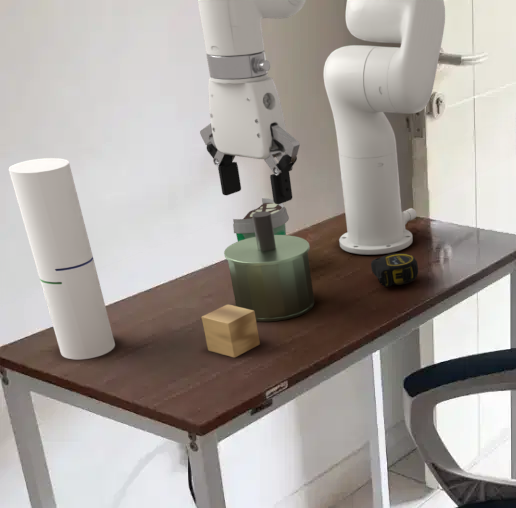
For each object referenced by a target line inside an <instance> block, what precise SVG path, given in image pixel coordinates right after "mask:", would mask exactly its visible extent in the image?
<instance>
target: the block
mask: <svg viewBox="0 0 516 508" xmlns="http://www.w3.org/2000/svg"><path fill="white" fill-rule="evenodd" d="M201 322H202V327H203V332H204V337H205V342H206V347H207V351H209V352H213V353H216V354H220V355H223V356H228V357H230V358H235V359H236V358H237V357H239V356H241V355H242V354H244V353H246V352H249V351H250V350H252V349H254V348H256V347H258V346H259V345H261V343H260V336H259V331H258V325H257V321H256V318H255V312H254V310H249V309H245V308H241V307H237V306H236V305H232V304H228V303H227V304H225V305H223V306H221V307H219V308H217V309H214V310H212V311H210V312H208V313H206V314H204V315H202V316H201Z"/></svg>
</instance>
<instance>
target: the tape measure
mask: <svg viewBox="0 0 516 508" xmlns="http://www.w3.org/2000/svg"><path fill="white" fill-rule="evenodd" d="M370 269H371V271H372V273H373V275H374V276H375V277H376V278H377V279H378V281H379V284H381V285H382V286H383V287H384V288H388V287H392V286H401V285H403V286H404V285H406V284H410V283H412V282H413V281H415V280H416V279H417V277H418V274H419V265H418V261H417V259H416V258H415V257H414V256H413V255H412V254H409V253H403V252H399V253H398V252H397V253H396V252H393V253H388V254H385V255H383V256H380V257H377V258H375V259H372V260H371V263H370Z"/></svg>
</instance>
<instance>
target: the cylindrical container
mask: <svg viewBox="0 0 516 508" xmlns="http://www.w3.org/2000/svg"><path fill="white" fill-rule="evenodd" d="M8 174H9V177H10V180H11V183H12V187H13V190H14V194H15V197H16V202H17V205H18V207H19V211H20V215H21V218H22V223H23V225H24V229H25V233H26V236H27V240H28V243H29V247H30V250H31V254H32V257H33V261H34V263H35V268H36V271H37V275H38V278H39V282H40V285H41V288H42V292H43V295H44V296H43V297H44V300H45V303H46V306H47V308H48V313H49V317H50V321H51V323H52V328H53V330H54V334H55V339H56V341H57V345H58V349H59V352H60V355H61V357H63V358H65V359H69V360H88V359H94V358H98V357H101V356H104V355H106V354H108V353H110V352H112V350H114V349H115V347H116V343H115V339H114V334H113V332H112V326H111V323H110V319H109V314H108V311H107V307H106V304H105V299H104V296H103V295H104V294H103V292H102V288H101V287H102V286H101V283H100V280H99V276H98V271H97V268H96V264H95V260H94V256H93V252H92V247H91V244H90V240H89V236H88V232H87V227H86V224H85V220H84V217H83V212H82V209H81V203H80V201H79V197H78V192H77V188H76V184H75V180H74V176H73V173H72V168H71V164H70V161H69V160H68V159H66V158H61V157H45V158H34V159H28V160H24V161H20V162H17V163H15V164H12V165H10V166H9V167H8Z"/></svg>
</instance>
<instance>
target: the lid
mask: <svg viewBox="0 0 516 508" xmlns="http://www.w3.org/2000/svg"><path fill="white" fill-rule="evenodd" d="M252 216H253V223H254V229H255V235H256V237H252V238H248V239H244V240H241V241H238V240H237V241H236V242H233V243H232V244H230V245H228V246H227V247H226V248H225V249H224V252H223V254H224V259H225V260H226V261H227V262H228V261H229V262H231V263H234V264H238V265H245V266H268V265H276V264H281V263H286V262H290V261H293V260H296V259H298V258H300V257H302V256H304V255H305V254H306V253H308V254H309V251H310V249H311V248H310V243H309V241H307V240H306V239H305V238H303V237H299V236H295V235H289V234H288V235H287V234H286V235H274V231H273V224H272V218H271V213H270V212H257V213H254V214H253V215H252Z"/></svg>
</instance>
